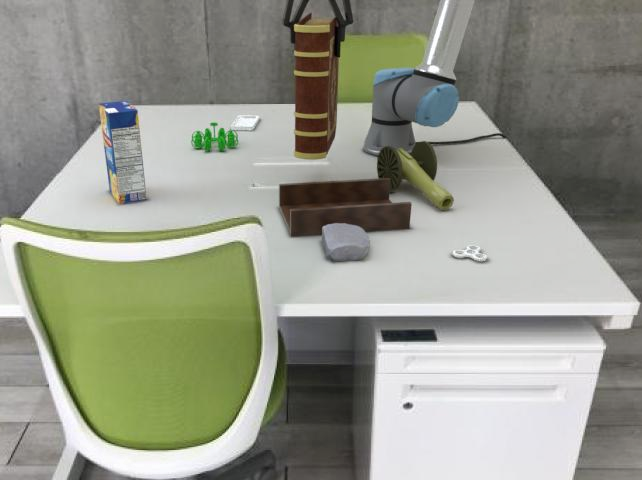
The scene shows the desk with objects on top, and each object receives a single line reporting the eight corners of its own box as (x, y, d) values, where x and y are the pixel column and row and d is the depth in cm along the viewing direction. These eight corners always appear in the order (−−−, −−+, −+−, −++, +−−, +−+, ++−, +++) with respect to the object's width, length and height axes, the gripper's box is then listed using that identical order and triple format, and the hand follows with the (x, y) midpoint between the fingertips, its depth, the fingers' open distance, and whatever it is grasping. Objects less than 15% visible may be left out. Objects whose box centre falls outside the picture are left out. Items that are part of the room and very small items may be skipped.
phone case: (252, 130, 235) (260, 119, 248) (252, 126, 235) (260, 115, 247) (230, 130, 236) (239, 118, 249) (230, 125, 236) (238, 114, 248)
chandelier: (228, 155, 212) (227, 131, 209) (182, 151, 216) (180, 127, 213) (246, 141, 224) (246, 119, 221) (202, 138, 229) (201, 115, 225)
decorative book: (325, 160, 174) (328, 26, 158) (292, 159, 175) (292, 25, 160) (336, 135, 193) (341, 12, 177) (307, 134, 194) (308, 12, 179)
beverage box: (119, 204, 178) (108, 113, 167) (109, 190, 187) (98, 103, 175) (146, 200, 180) (137, 110, 169) (135, 187, 189) (126, 100, 178)
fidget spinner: (488, 261, 147) (489, 257, 147) (457, 262, 147) (458, 259, 146) (477, 247, 153) (478, 244, 153) (447, 248, 153) (448, 245, 152)
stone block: (361, 245, 159) (317, 238, 158) (366, 225, 157) (322, 218, 155) (371, 270, 149) (324, 263, 148) (377, 249, 147) (330, 242, 145)
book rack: (387, 201, 178) (389, 177, 175) (409, 228, 163) (411, 203, 160) (279, 207, 175) (278, 183, 172) (291, 236, 160) (291, 210, 156)
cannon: (466, 207, 174) (472, 161, 168) (424, 215, 170) (429, 168, 164) (410, 177, 193) (414, 134, 188) (371, 183, 189) (374, 140, 184)
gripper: (362, -52, 166) (358, 52, 177) (268, -49, 163) (269, 56, 175) (370, -50, 159) (365, 58, 171) (272, -48, 157) (274, 62, 168)
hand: (317, 57), depth 173 cm, fingers closed on decorative book, 9 cm apart
